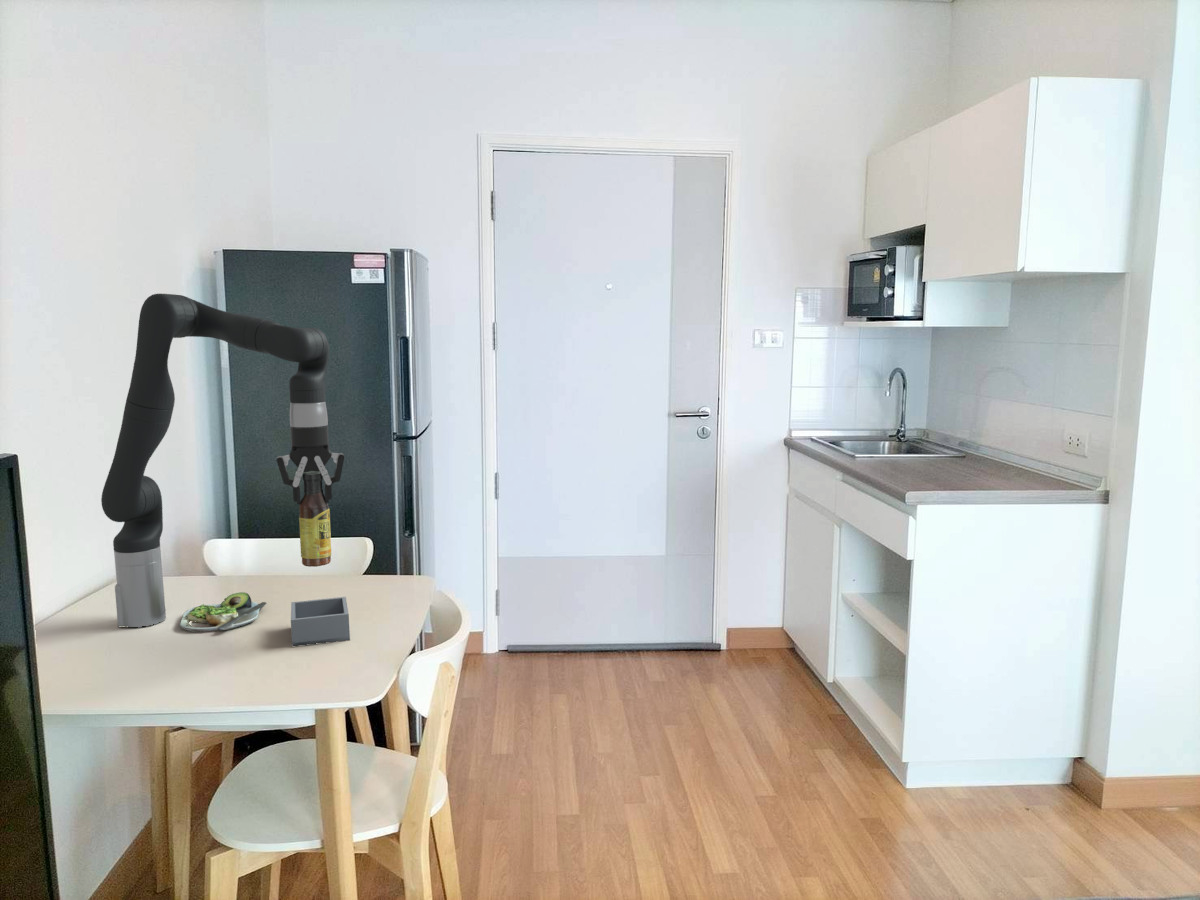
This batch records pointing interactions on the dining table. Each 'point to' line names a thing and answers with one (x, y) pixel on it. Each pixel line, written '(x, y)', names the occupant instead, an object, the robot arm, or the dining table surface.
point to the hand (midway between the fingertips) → (313, 502)
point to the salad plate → (223, 614)
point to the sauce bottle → (314, 523)
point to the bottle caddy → (319, 621)
